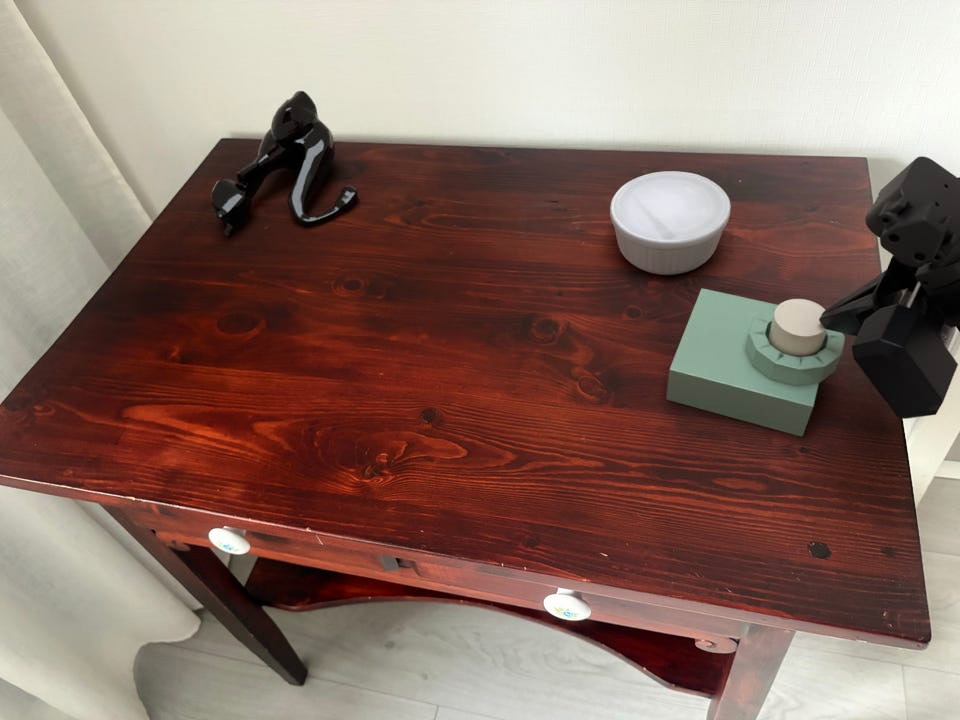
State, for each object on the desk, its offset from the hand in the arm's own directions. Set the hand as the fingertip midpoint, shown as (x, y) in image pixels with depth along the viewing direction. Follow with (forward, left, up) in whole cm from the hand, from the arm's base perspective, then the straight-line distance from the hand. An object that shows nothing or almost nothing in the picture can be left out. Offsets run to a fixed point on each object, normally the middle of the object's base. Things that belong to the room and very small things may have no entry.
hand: (823, 321), depth 56 cm
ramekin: (+16, -14, -9) cm, 23 cm away
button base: (+5, 0, -8) cm, 10 cm away
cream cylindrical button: (+2, 0, -3) cm, 3 cm away
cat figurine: (+58, -9, -9) cm, 59 cm away
